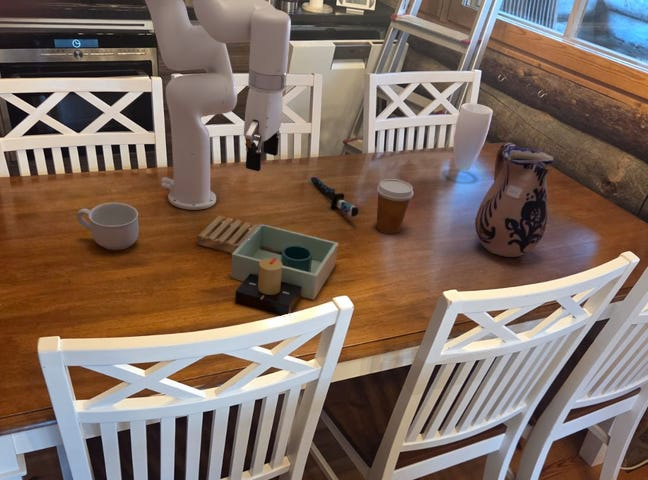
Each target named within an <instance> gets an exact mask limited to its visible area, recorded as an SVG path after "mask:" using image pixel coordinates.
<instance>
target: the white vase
mask: <svg viewBox="0 0 648 480" xmlns="http://www.w3.org/2000/svg"><path fill="white" fill-rule="evenodd" d="M493 113H494V111H493V109H492V108H491V107H489V106H486V105H485V104H481V103H474V102H473V103H472V102H465V103H463V104H461V105H460V109H459V112H458V115H457V119H456V123H455V129H454V133H453V143H452V144H453V147H452V155H453V157H452V158H453V165H454V168H455V169H457V170H460V171H463V172H464V171H465V172H466V171H469V170H470V169H471V167H473V165H474V164H475V162H476V161H477V159H478V157H479V155H480V153H481V151H482V149H483V147H484V144H485V143H486V139H487V135H488V132H489V130H490V126H491V121H492V117H493Z"/></svg>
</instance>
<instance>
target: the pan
mask: <svg viewBox="0 0 648 480" xmlns="http://www.w3.org/2000/svg"><path fill="white" fill-rule="evenodd" d="M260 249H261V250H263V251H267V252H271V253H275V254H279V255H281V263H282V265H283V266H287V267H290V268H294V269H298V270H302V271H306V272H311V264H312V252H311V250H309V249H307V248H306V247H302V246H298V245H294V246H288V247H285V248H284V249H283V250H282V251H281V250H277V249H274V248H270V247H266V246H260Z"/></svg>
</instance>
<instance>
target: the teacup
mask: <svg viewBox="0 0 648 480" xmlns="http://www.w3.org/2000/svg"><path fill="white" fill-rule="evenodd" d="M83 215H86V216H87V217H88V220H89V222H88V221H86V219H85V218H84V217H83ZM76 218H77V221H78V222H79V223H80V224H81V226H82V227H84V228H85V229H86V230H88V231H90V233H91V236H92V239H93V240H94V242H95V243H96V244H97V245H98V246H100V247H102V248H104V249H106V250H109V251H122V250H126V249H127V248H129V247H131V246H132V245H133V244H135V243H136V241H137V240H138V239H139V233H140V231H139V229H140V228H139V227H140V226H139V212H138V210H137V209H136V208H135V207H134V206H132V205H130V204H127V203H124V202H105V203H101V204H98V205H96V206H94V207H93V208H91V209H88V208H81V209H79V210H78V212H77V213H76Z"/></svg>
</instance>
